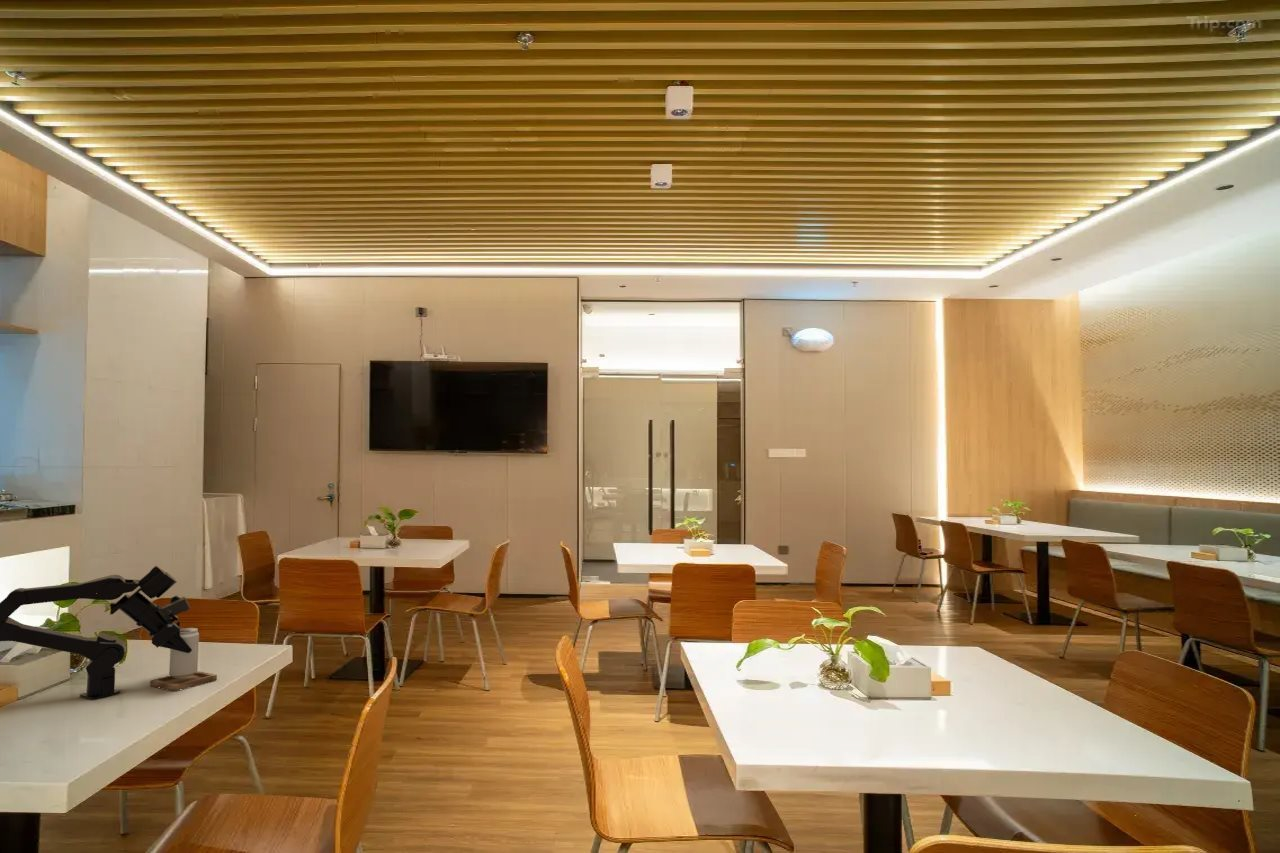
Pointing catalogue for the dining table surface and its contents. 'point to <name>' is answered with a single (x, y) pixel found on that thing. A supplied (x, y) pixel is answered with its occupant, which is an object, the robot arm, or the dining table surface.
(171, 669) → the beverage can
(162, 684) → the tray
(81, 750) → the dining table surface
